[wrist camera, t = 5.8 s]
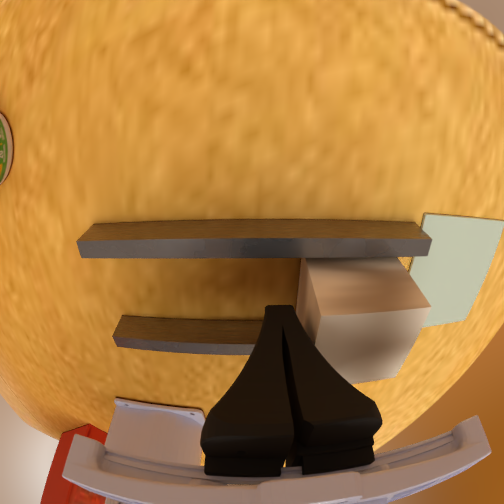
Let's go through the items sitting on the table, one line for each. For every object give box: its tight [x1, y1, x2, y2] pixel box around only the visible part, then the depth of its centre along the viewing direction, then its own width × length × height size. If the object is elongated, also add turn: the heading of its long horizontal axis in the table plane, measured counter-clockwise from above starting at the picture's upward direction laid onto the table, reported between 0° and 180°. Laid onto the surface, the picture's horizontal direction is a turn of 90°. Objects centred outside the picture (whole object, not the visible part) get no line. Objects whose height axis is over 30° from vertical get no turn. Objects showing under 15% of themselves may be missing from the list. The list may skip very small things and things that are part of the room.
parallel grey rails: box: [76, 219, 432, 355], centre depth 15 cm, size 18×8×2 cm, turn 91°
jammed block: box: [296, 257, 431, 384], centre depth 13 cm, size 5×5×5 cm
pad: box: [408, 213, 504, 327], centre depth 16 cm, size 8×9×1 cm
